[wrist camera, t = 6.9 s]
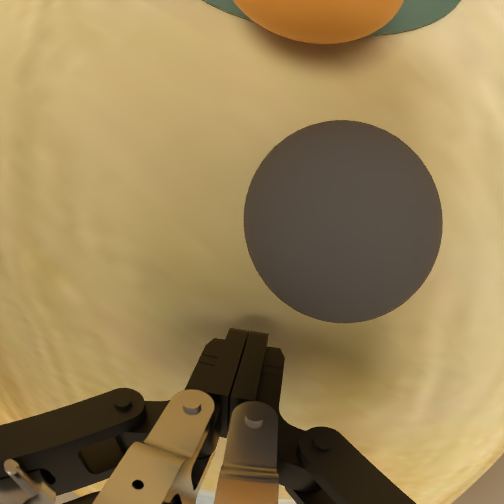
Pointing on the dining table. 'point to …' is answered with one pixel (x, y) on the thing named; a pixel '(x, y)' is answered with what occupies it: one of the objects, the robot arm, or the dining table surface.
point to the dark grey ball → (343, 221)
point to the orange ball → (321, 18)
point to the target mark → (407, 18)
